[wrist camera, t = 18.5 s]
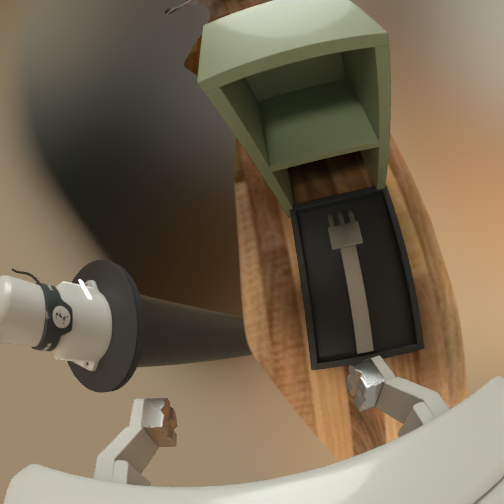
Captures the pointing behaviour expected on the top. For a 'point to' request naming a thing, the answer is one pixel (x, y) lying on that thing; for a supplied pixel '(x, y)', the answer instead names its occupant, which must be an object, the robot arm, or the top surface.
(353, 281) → the fork
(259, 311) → the top surface
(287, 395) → the top surface
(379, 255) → the tray
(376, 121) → the shelf
